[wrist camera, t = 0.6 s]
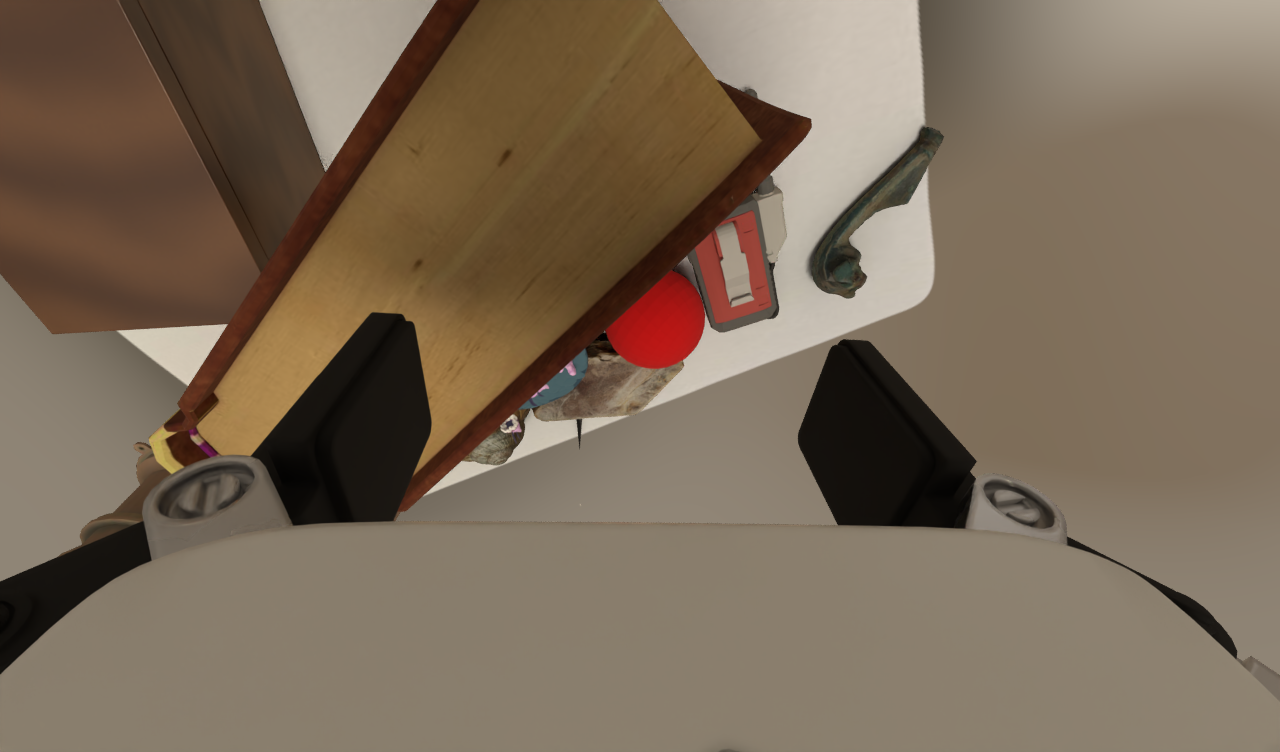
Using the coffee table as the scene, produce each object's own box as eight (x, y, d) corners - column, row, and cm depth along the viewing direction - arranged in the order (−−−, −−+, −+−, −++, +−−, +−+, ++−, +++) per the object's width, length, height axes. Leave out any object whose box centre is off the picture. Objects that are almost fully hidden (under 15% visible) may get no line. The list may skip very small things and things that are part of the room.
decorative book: (487, 266, 44) (356, 564, 20) (406, 203, 40) (122, 474, 16) (671, 60, 36) (828, 140, 12) (590, -43, 32) (574, -243, 8)
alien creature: (473, 300, 34) (478, 375, 31) (613, 337, 41) (630, 401, 38) (422, 394, 41) (421, 464, 38) (549, 412, 48) (558, 472, 45)
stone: (669, 413, 53) (659, 395, 56) (689, 352, 49) (678, 335, 51) (533, 424, 48) (528, 404, 50) (540, 357, 43) (534, 337, 45)
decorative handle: (851, 302, 41) (796, 279, 43) (854, 305, 47) (806, 284, 49) (950, 121, 37) (885, 103, 39) (940, 149, 43) (884, 132, 45)
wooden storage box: (-14, -45, 30) (-304, -77, 20) (239, -51, 31) (74, -85, 21) (177, 262, 42) (51, 334, 32) (356, 252, 42) (285, 320, 33)
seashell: (526, 449, 55) (482, 499, 49) (460, 404, 56) (407, 448, 50) (553, 384, 48) (504, 433, 42) (476, 334, 49) (417, 374, 43)
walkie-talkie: (793, 302, 49) (758, 82, 37) (809, 324, 45) (775, 88, 33) (708, 329, 50) (648, 124, 38) (717, 353, 46) (654, 134, 35)
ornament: (642, 403, 42) (559, 327, 43) (684, 369, 49) (612, 305, 50) (701, 327, 36) (606, 244, 38) (738, 302, 44) (657, 233, 45)
